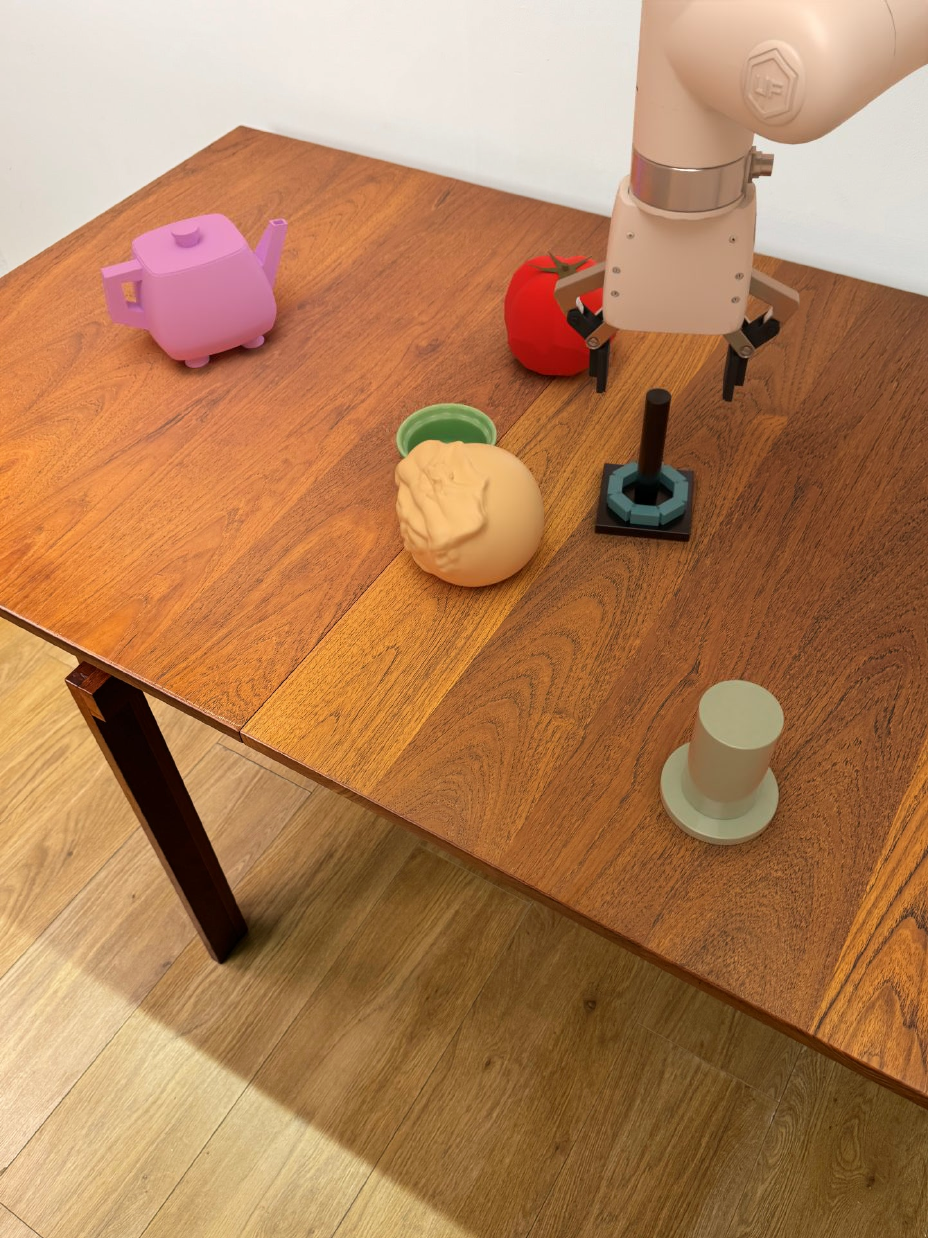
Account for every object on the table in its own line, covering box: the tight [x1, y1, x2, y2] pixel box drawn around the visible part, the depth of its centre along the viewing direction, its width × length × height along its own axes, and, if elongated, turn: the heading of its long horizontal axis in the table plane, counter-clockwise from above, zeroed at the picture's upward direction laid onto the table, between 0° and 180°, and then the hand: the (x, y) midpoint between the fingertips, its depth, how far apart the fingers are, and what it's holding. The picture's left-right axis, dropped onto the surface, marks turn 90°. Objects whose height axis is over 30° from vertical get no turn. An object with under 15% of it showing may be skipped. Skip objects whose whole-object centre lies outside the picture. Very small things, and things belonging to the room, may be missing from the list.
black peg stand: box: [594, 387, 695, 543], centre depth 83 cm, size 8×8×12 cm
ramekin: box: [395, 402, 498, 460], centre depth 90 cm, size 9×9×4 cm
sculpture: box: [394, 440, 545, 588], centre depth 81 cm, size 12×12×11 cm
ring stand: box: [659, 679, 785, 846], centre depth 66 cm, size 8×8×10 cm
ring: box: [607, 460, 688, 526], centre depth 87 cm, size 7×7×1 cm
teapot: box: [100, 213, 289, 369], centre depth 102 cm, size 20×12×13 cm, turn 119°
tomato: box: [503, 250, 618, 376], centre depth 97 cm, size 12×12×11 cm
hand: (664, 386), depth 78 cm, fingers open, 9 cm apart
